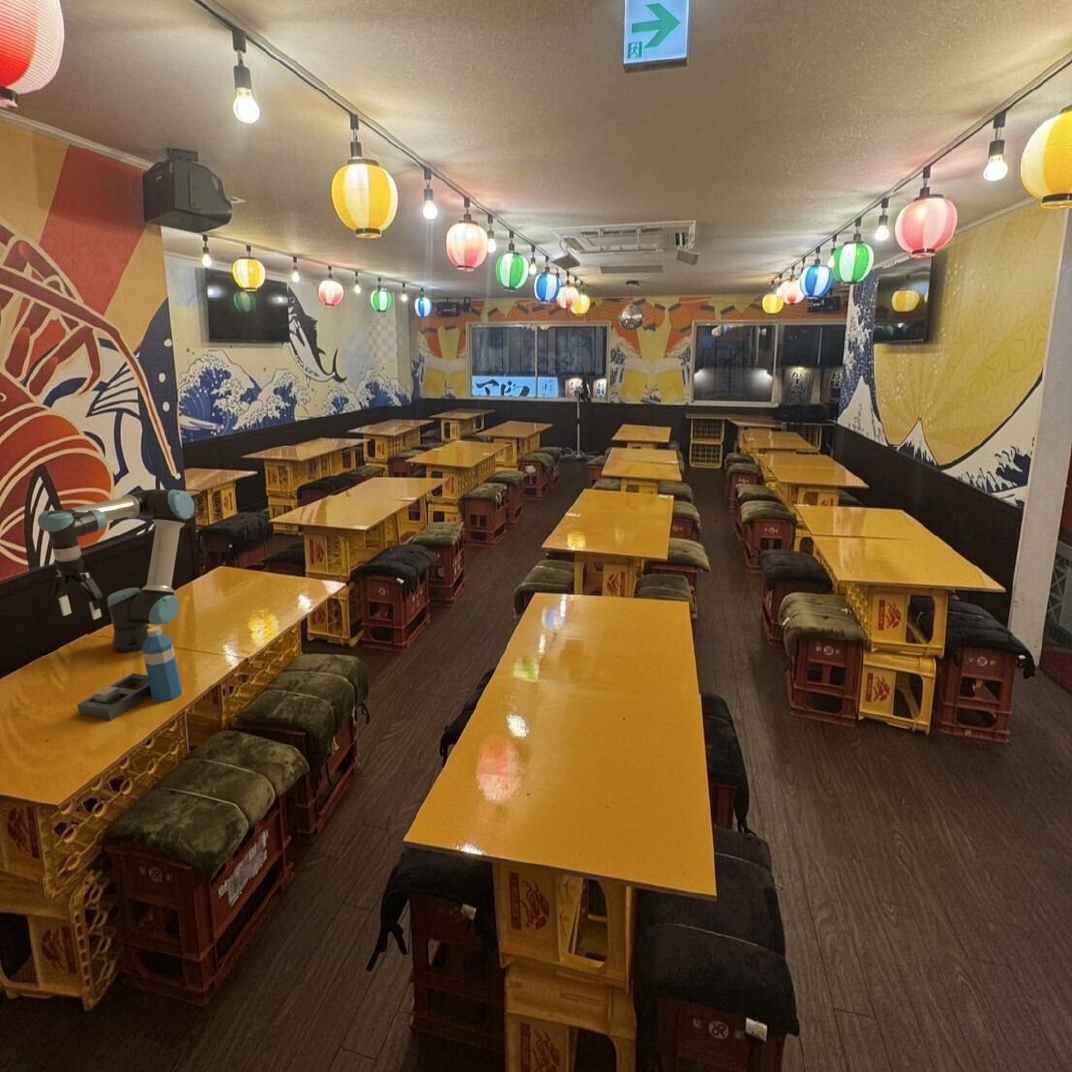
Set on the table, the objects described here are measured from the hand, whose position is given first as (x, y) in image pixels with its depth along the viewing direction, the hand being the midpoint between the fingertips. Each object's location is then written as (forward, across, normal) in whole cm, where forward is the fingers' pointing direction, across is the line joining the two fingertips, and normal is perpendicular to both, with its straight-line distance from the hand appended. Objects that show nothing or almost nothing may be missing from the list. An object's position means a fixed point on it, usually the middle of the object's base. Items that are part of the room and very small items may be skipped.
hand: (82, 616), depth 236 cm
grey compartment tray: (+27, +19, -7) cm, 34 cm away
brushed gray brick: (+27, +19, -12) cm, 35 cm away
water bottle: (+27, +31, 0) cm, 41 cm away
